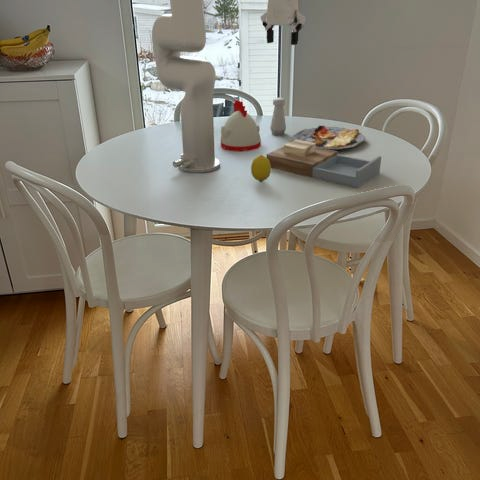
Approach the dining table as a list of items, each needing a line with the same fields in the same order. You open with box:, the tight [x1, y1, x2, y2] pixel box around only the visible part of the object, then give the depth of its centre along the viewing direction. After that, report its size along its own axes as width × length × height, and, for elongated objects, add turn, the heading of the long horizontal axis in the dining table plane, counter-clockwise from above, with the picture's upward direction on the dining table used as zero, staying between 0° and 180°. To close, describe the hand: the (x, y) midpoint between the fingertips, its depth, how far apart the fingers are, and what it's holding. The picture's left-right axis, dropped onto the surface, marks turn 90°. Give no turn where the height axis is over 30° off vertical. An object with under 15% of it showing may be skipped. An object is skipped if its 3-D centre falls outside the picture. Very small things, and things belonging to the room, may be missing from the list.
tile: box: [283, 140, 316, 157], centre depth 151 cm, size 7×7×2 cm
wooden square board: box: [266, 146, 338, 179], centre depth 152 cm, size 15×16×4 cm
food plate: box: [291, 124, 366, 151], centre depth 174 cm, size 25×23×4 cm
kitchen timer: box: [220, 99, 262, 152], centre depth 169 cm, size 14×14×15 cm
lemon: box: [250, 154, 272, 183], centre depth 139 cm, size 6×6×8 cm
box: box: [312, 153, 382, 189], centre depth 144 cm, size 15×14×5 cm
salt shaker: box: [270, 97, 287, 136], centre depth 181 cm, size 6×6×13 cm
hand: (282, 43), depth 170 cm, fingers open, 9 cm apart
